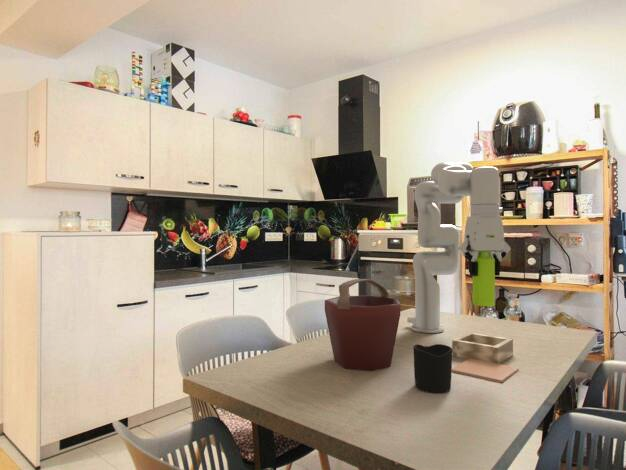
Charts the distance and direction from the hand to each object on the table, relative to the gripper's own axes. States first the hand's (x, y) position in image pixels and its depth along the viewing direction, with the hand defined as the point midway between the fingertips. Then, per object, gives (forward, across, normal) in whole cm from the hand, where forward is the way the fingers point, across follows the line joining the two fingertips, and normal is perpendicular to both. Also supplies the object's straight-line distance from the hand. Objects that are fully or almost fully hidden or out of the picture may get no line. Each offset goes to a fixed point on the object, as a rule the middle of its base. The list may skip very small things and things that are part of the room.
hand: (484, 274), depth 121 cm
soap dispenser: (+9, 0, 0) cm, 9 cm away
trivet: (+27, 0, 0) cm, 27 cm away
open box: (+27, -8, -14) cm, 31 cm away
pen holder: (+27, +20, +10) cm, 35 cm away
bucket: (+27, +32, -13) cm, 44 cm away
